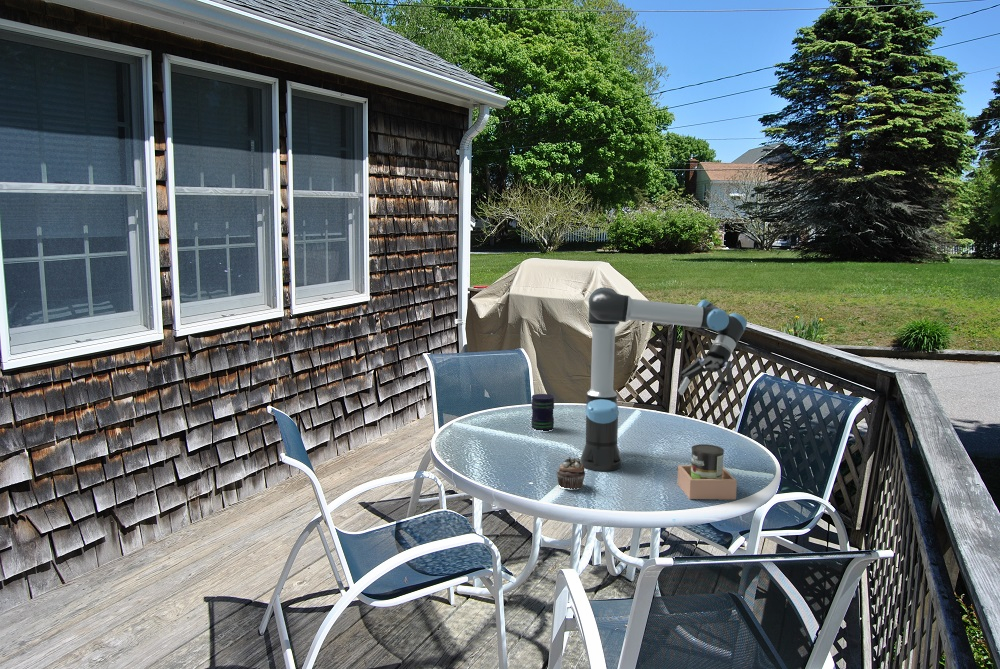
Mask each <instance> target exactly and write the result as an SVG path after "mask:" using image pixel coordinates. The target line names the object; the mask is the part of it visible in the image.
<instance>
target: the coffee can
mask: <svg viewBox="0 0 1000 669" xmlns="http://www.w3.org/2000/svg"><path fill="white" fill-rule="evenodd" d="M724 453H725V449H724V448H722V447H721V446H718V445H715V444H714V445H713V444H707V443H706V444H704V443H702V444H694V445H692V446H691V464H690V465H691V478H692V479H722V471H723V467H724Z"/></svg>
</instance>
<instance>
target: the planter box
mask: <svg viewBox="0 0 1000 669" xmlns="http://www.w3.org/2000/svg"><path fill="white" fill-rule="evenodd" d="M676 481H677V482H676V484H677V485H678V487H679V488H680V490H682V492H683V491H684V492H683V493H684V494H685V496H686V495H687V496H686V497H687V499H688V500H690V499H719V500H737V487H738V486H737V483H738V480H737V478H735V477H734V476H733V474H731V473H730V472H729V471H728V470H727V469H726V468H725V467H724V466H723V471H722V479H692V478H691V464H689V465H688V464H683V465H682V464H681V465H680V464H678V465H677V480H676ZM719 500H718V501H719Z"/></svg>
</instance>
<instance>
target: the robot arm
mask: <svg viewBox="0 0 1000 669" xmlns="http://www.w3.org/2000/svg"><path fill="white" fill-rule="evenodd" d="M630 320H631V321H637V322H648V323H658V324H665V325H673V326H674V325H675V326H685V327H692V328H702V329H708V330H709V329H710V330H712V331H715V332H717V333H718V334H717V335H716V338H715V339H714V341H713V342H712V345H711V346H710V349H709V350H708V352H707V355H706V356H705V357H704V358H703V357H702V356H700V355H699V356H698V357H697V358H696V359H695V360H694V361H693V362H692V363H690V364H689V365H688V366H686V368H685V369H683V370H682V371H681V372H680V375H681V376H682V380H680V386H679V388H678V390H677V392H678V393H679V395H680V396H683V395H684V393H685V392H686V390H687V388H688V386H689V385H690V383H691V379H693V378H695V377H696V376H698V375H700V374H702V373H705V372H713V373H716V372H717V374H718V376H719V379H720V382H719V381H718V383H717V385H716V386H715V389H714V390H713V392H712V393H711V396H710V398H711V400H712V402H713V403H716V402H717V400H718V398H719V396H720V394H723V392H724V390H725V389H726V387H732V386H733V367H734V364H733V362H732V361H731V360H730V358H731V355H733V353H734V349H735V348H736V346H737V344H738V342H739V341H740V339H741V337H742V335H743V334H744V333H745V330H746V327H747V324H748V322H747V319H746V318H745V316H743V315H742V314H739V313H737V312H732V313H730V314H728V313H727V312H726V311H725V310H723V309H722V308H719V307H717V306H716V305H714V304H713V303H712V302H711V301H708V300H707V299H702V300H700V301H699V303H698V304H697V305H689V304H680V303H672V302H663V301H662V302H661V301H656V300H655V301H652V300H646V299H644V300H643V299H637V298H632V297H631V296H630V295H625V294H621V293H618V292H617V291H616V290H614V289H612V288H609V287H605V286H604V287H599V288H597V289H595V290H593V292H592V293H590V295H589V297H588V324H589V325H590V327H591V328H592V330H591V331H592V333H591V366H590V367H591V368H590V371H591V372H590V375H591V376H590V389H589V390H588V391H587V392H586V405H585V406H586V407H585V444H584V448H583V450H582V453H581V455H580V460H581V462H580V463H581V464H582V465H583V466H584V469H587V470H592V471H598V472H608V471H615V470H619V469H620V468H621V467H622V464H623V460H622V456H621V453H620V449H619V446H618V439H619V437H618V433H619V432H618V430H619V413H620V412H619V406H618V393H617V392H616V391H615V389H614V375H615V372H614V371H615V350H616V349H615V348H616V347H615V346H616V345H615V341H616V328H617V327H618V326H619V325H620V322H621V323H627V322H628V321H630ZM724 368H725V372H726V373H725V375H726V377H725V376H724V373H723V370H722V369H724Z"/></svg>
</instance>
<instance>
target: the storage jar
mask: <svg viewBox="0 0 1000 669" xmlns="http://www.w3.org/2000/svg"><path fill="white" fill-rule="evenodd" d="M554 399H555V396H554V395H552V394H548V393H538V394H537V393H535V394H533V395H531V409H532V410H531V411H532V412H531V414H532V416H531V423H530V424H531V429H532V428H534V429H536V430H543V431H549V430H552V429H554V425H555V417H554V409H555V400H554Z"/></svg>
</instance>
